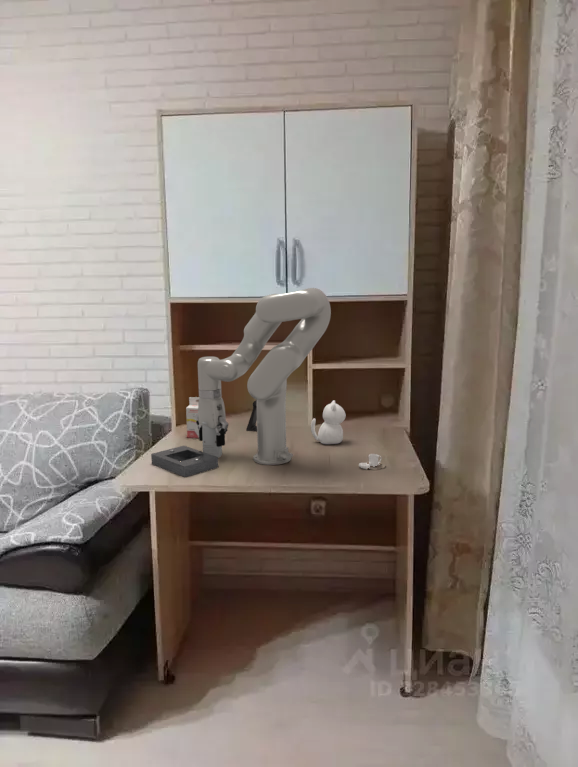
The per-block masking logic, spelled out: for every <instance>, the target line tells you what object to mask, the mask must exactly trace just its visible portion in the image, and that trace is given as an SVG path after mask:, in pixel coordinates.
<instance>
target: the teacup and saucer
mask: <svg viewBox="0 0 578 767" xmlns="http://www.w3.org/2000/svg"><path fill="white" fill-rule="evenodd" d="M379 457H380V459H379ZM382 459H383V458H382V456H381V455H379V454H377V453H370V454H368V462H369V464H367V462H359V463H358V467H359V468H360V469H364V470H367V468H369V469H371V467H370V466H373V467H372V468H376V467H375V466H377V467H378V465H380V464H379V463H381V461H382Z"/></svg>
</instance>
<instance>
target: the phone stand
mask: <svg viewBox="0 0 578 767" xmlns="http://www.w3.org/2000/svg"><path fill="white" fill-rule="evenodd" d="M250 413H251V414H250V417H249V420H248V424H247V426H246V432H257V400H256V399H254V401H253V403H252V411H251V412H250Z"/></svg>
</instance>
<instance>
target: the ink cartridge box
mask: <svg viewBox="0 0 578 767" xmlns="http://www.w3.org/2000/svg"><path fill="white" fill-rule="evenodd" d="M188 401H189V402H188V403H189V405H188V406H186V408H185V411H186V412H185V413H186V415H185V418H186V436H187V438H188V439H199V430H200V429H198V425H197V423H196V419H195V415H196V414H198V402H199V396H198V397H197V396H195V397H193V396H190V397H188Z"/></svg>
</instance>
